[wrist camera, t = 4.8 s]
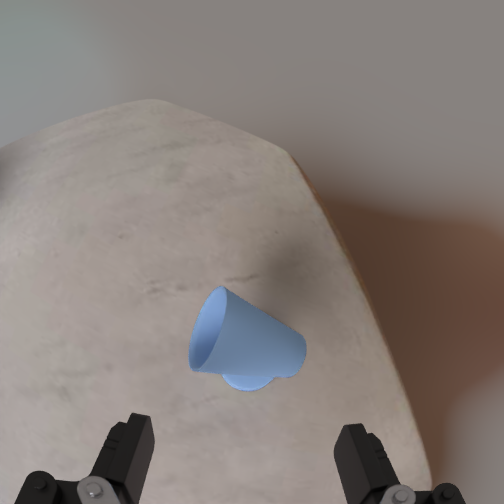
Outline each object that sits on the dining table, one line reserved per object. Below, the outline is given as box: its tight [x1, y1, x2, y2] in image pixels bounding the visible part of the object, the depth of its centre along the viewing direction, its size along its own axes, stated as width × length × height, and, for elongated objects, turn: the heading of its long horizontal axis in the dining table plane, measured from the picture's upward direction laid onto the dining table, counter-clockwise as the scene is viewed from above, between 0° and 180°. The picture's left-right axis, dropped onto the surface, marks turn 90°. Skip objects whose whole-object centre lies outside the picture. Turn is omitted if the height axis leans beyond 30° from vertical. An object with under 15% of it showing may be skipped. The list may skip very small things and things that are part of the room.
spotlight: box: [188, 286, 306, 391], centre depth 18 cm, size 5×10×7 cm
